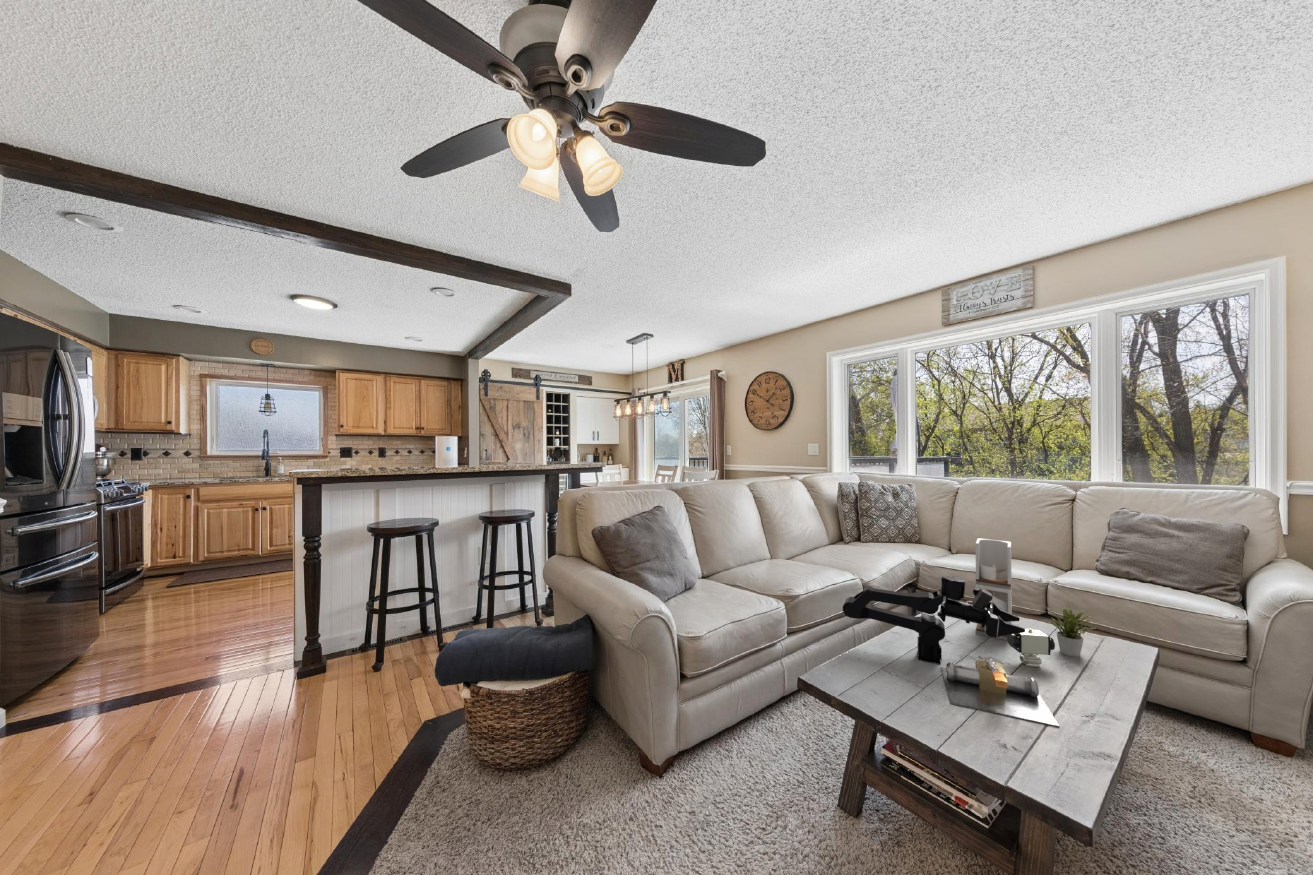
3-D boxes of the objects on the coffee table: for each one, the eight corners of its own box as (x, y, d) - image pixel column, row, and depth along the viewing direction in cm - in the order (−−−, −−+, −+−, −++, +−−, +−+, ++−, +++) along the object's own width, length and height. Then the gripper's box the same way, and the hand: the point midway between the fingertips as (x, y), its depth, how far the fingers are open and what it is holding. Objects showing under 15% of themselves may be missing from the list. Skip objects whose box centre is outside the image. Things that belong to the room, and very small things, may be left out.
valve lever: (983, 661, 138) (983, 655, 138) (994, 663, 137) (994, 657, 137) (995, 685, 124) (995, 679, 124) (1007, 688, 123) (1007, 681, 123)
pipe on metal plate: (950, 704, 128) (950, 678, 128) (940, 668, 148) (940, 646, 148) (1059, 727, 117) (1059, 700, 117) (1033, 685, 137) (1033, 662, 137)
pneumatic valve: (1055, 670, 146) (1055, 633, 146) (1014, 666, 149) (1014, 630, 149) (1044, 661, 152) (1044, 626, 152) (1005, 658, 154) (1005, 623, 154)
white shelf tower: (978, 624, 182) (977, 538, 183) (1011, 631, 176) (1011, 541, 176) (976, 633, 174) (975, 543, 174) (1011, 641, 167) (1010, 547, 167)
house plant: (1115, 665, 149) (1115, 616, 149) (1073, 664, 149) (1072, 615, 149) (1076, 645, 163) (1075, 600, 163) (1037, 645, 164) (1037, 600, 164)
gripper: (967, 596, 141) (1031, 610, 133) (963, 579, 157) (1019, 590, 149) (963, 630, 142) (1026, 646, 134) (959, 609, 158) (1015, 623, 150)
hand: (1022, 624), depth 141 cm, fingers open, 9 cm apart
